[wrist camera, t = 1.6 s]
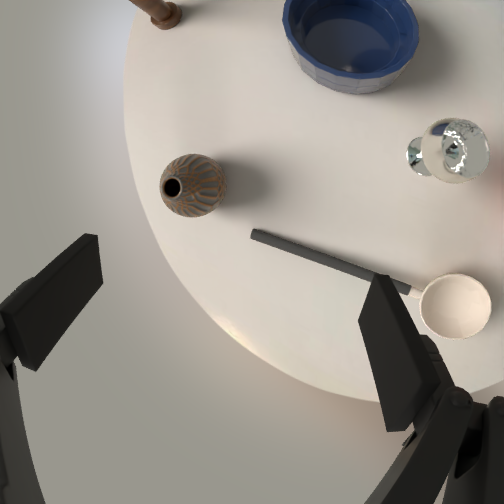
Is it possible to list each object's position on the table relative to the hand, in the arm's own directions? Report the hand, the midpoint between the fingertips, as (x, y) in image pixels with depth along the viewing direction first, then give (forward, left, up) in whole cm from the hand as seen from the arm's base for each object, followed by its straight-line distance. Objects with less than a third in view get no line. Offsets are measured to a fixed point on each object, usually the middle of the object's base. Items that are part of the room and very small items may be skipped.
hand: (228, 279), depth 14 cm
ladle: (+1, +12, -23) cm, 26 cm away
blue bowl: (-22, -3, -23) cm, 32 cm away
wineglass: (-14, +11, -23) cm, 29 cm away
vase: (+1, -11, -23) cm, 25 cm away
